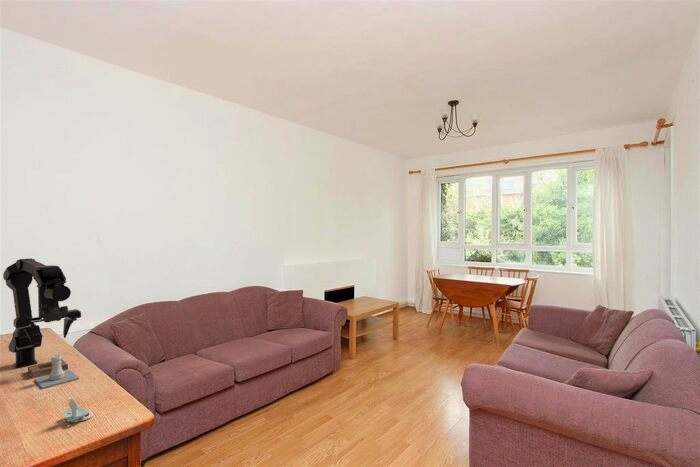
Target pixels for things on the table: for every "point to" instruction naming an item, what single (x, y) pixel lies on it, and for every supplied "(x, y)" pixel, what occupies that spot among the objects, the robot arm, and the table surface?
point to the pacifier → (76, 412)
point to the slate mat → (46, 383)
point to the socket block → (44, 369)
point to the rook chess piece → (56, 368)
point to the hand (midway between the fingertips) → (49, 340)
